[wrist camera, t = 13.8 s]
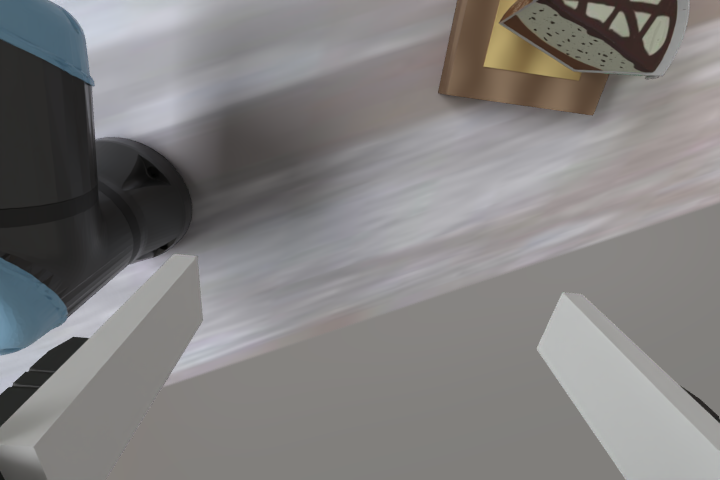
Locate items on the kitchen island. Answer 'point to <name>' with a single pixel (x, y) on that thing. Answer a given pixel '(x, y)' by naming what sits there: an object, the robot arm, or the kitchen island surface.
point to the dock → (510, 65)
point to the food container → (603, 33)
